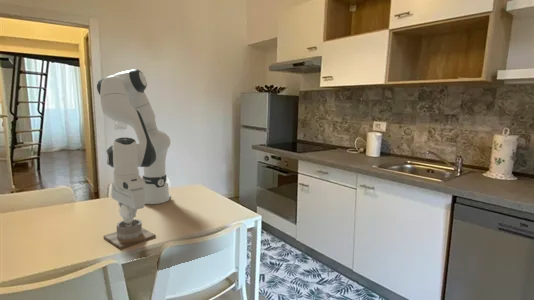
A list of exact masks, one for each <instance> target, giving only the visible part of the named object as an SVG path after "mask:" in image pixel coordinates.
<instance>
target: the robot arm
mask: <svg viewBox="0 0 534 300" xmlns="http://www.w3.org/2000/svg"><path fill="white" fill-rule="evenodd" d="M147 86H148V84H147V79H146V76H145V74H144V73H143V72H142V71H141V70H139V69H137V68H133V69H130V70H125V71H121V72H116V73H114V74H111V75H109V76H108V75H107V76H106V77H103V78H101V79H99V80H98V82H97V84H96V89H97V92H98V95H99V97H100V105H101V110H102V112H103V113H104V115H105V116H106V117H108V118H109V119H111V120H112V121H114V122H115V121H116V122H118V123H121V124H122V123H123V124H125V125H127V126H130V127H131V128H133V130H134V131H135V135H136V138H137V140H138V143H137V140H136V139H134V138H132V137H127V136H125V137H118V138H115V139H114V141H113V145H110V146H109V147H108V148H107V149H106V156H107V157H106V158H107V160H106V164H107V166H110V167H111V168H114V169H113V181H112V183H111V198H112V199H113V200H115V201H116V202H117V203H118V206H119V208H120V207H121V205H122V204H125V205H127V206H129V207H130V209H131V212H130V213H129V216H130V217H131V218H133V219H135V218H136V216H137V215H136V214H137V212H138V210H140V209H143V208H145V206H146V205H159V204H164V203H166V202H168V201H170V198H171V194H170V189H169V188H170V187H169V183H168V182H167V180H168V179H167V174H166V157H167V153H168V149H169V148H170V146H171V138H170V136H169V135H168V134H167V133H166V132H164V131H162V130H159V129H158V128H157V122H156V115H155V112H154V109H153V107H152V105H151V103H150V100H149V98H148V96H147V95H146V93H145V90H147V89H146V88H147ZM139 167H140V168H143V175H142V176H140V171H139ZM136 211H137V212H136Z"/></svg>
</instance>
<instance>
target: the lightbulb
mask: <svg viewBox="0 0 534 300" xmlns="http://www.w3.org/2000/svg"><path fill="white" fill-rule="evenodd" d="M118 210H119V211H118V213H119V216H120V217H121V219H122V221H123V220H124V222H125V227H131V226H132V221H133V219H134V218H131V217H130V216H129V213H130V212H131V209H130V207H129V206H127V205H125V204H122V205H121V207H119V209H118ZM137 212H138V210H137V211H136V213H137Z"/></svg>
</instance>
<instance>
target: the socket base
mask: <svg viewBox="0 0 534 300" xmlns="http://www.w3.org/2000/svg"><path fill="white" fill-rule="evenodd" d="M142 223H143V222H142V220H140V219H137V218H133V221H132V226H131V227H125V222H124V220H123V219H122V220H121V221H119V222H118V223H116V231H114V232H111V233H107V234H104V235H103V239H104V240H106V241H107V242H109V243H110V244H112V245H113V246H115V247H116V248H117V249H119V250H123V249H126V248H128V247H131V246H134V245H137V244H141V243H143V242H145V241H149V240H152V239H154V238H156V236H157V235H156V234H155V233H153V232H151V231H150V230H147V229H145V228H143V227H142V226H143V224H142Z"/></svg>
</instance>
